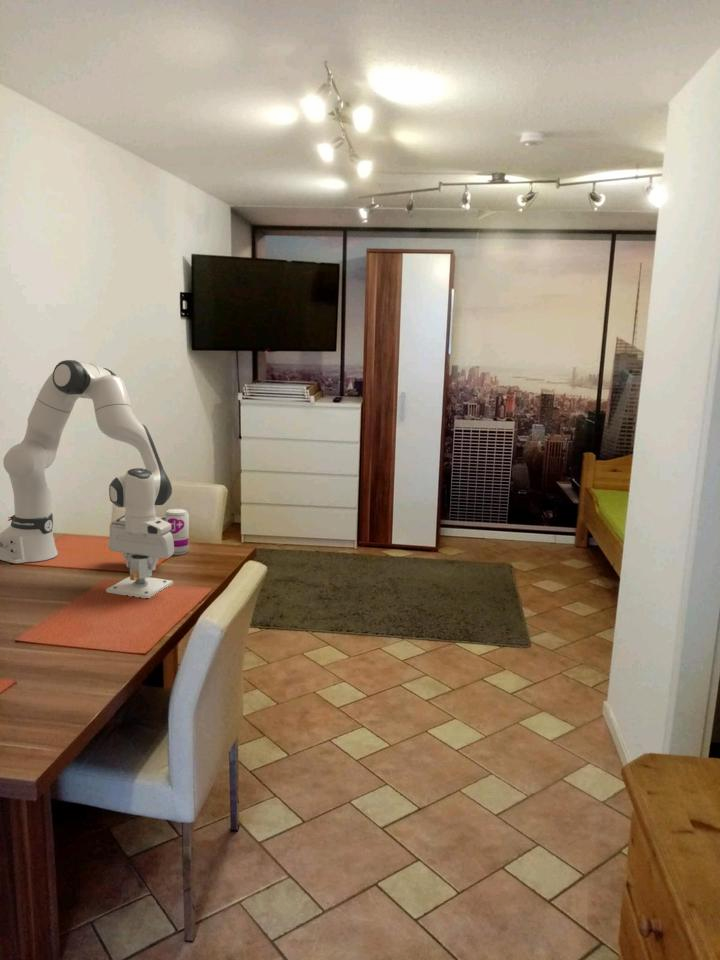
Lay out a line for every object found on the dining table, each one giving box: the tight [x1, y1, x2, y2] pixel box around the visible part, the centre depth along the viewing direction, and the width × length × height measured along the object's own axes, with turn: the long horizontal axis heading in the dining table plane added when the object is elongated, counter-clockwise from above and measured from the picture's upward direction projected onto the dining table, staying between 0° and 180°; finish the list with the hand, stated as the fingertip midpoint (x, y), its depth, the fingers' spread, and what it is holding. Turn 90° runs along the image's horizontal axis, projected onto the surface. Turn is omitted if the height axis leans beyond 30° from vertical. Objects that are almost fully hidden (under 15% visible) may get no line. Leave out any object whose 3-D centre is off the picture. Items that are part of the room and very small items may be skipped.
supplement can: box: [164, 508, 190, 556], centre depth 254 cm, size 8×8×15 cm
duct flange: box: [105, 576, 174, 599], centre depth 219 cm, size 14×14×7 cm
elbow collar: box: [129, 554, 153, 580], centre depth 217 cm, size 8×6×6 cm
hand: (141, 568), depth 219 cm, fingers closed on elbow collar, 6 cm apart
